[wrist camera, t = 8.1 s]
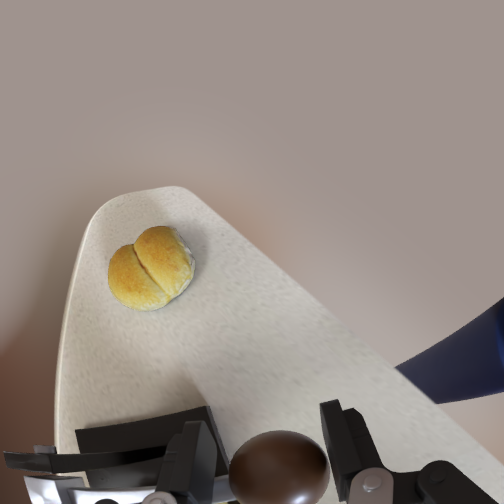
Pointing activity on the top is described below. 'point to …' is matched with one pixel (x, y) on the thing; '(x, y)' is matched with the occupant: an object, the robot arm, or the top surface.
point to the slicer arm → (225, 487)
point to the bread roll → (151, 269)
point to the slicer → (121, 451)
